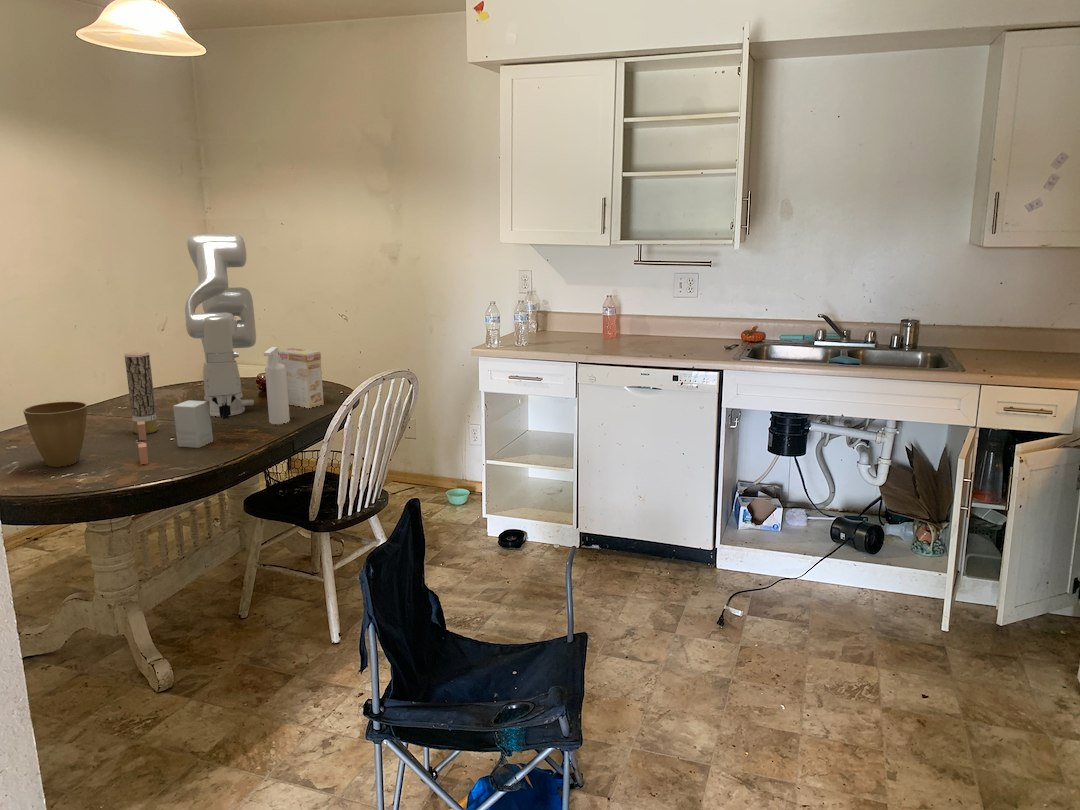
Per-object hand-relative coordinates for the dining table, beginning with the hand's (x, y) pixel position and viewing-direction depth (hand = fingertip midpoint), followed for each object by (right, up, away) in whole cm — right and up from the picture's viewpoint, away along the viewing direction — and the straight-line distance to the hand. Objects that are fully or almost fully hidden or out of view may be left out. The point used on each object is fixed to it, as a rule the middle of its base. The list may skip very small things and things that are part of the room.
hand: (225, 418), depth 242 cm
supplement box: (-8, -8, -2) cm, 12 cm away
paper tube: (-29, -5, +11) cm, 32 cm away
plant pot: (-37, -12, -20) cm, 44 cm away
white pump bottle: (+9, -2, +24) cm, 26 cm away
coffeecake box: (+9, +4, +47) cm, 48 cm away
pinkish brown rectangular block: (-21, -9, -8) cm, 24 cm away
